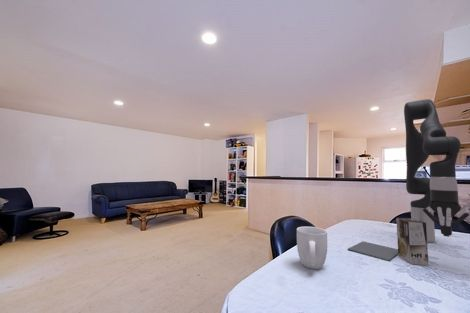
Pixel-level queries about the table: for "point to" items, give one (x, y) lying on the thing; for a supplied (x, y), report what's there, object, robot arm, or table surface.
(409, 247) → the coffee box
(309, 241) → the mug
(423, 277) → the table surface
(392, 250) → the mat
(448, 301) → the table surface
